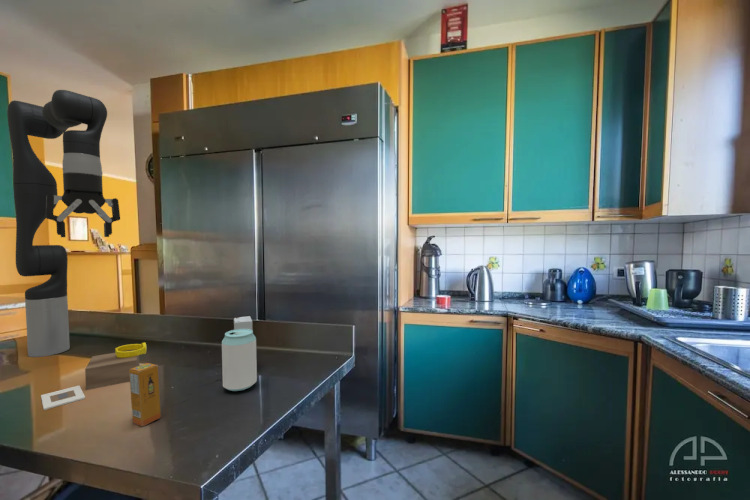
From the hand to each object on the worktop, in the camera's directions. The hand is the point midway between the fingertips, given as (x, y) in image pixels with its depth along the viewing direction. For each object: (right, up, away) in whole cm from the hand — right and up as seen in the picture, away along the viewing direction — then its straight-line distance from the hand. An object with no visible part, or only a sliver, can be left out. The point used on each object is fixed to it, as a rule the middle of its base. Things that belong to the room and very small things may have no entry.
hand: (85, 237), depth 85 cm
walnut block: (+13, -34, -7) cm, 37 cm away
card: (+10, -34, -17) cm, 39 cm away
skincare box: (+41, -33, 0) cm, 53 cm away
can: (+45, -34, -11) cm, 57 cm away
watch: (+13, -28, -7) cm, 32 cm away
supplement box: (+33, -34, -26) cm, 54 cm away
